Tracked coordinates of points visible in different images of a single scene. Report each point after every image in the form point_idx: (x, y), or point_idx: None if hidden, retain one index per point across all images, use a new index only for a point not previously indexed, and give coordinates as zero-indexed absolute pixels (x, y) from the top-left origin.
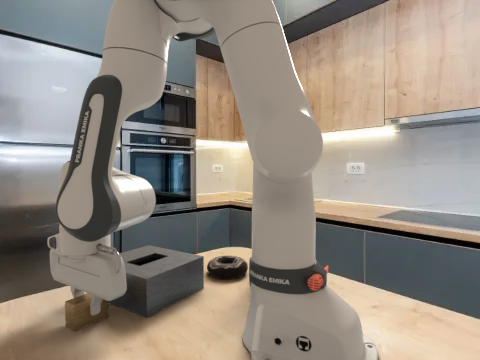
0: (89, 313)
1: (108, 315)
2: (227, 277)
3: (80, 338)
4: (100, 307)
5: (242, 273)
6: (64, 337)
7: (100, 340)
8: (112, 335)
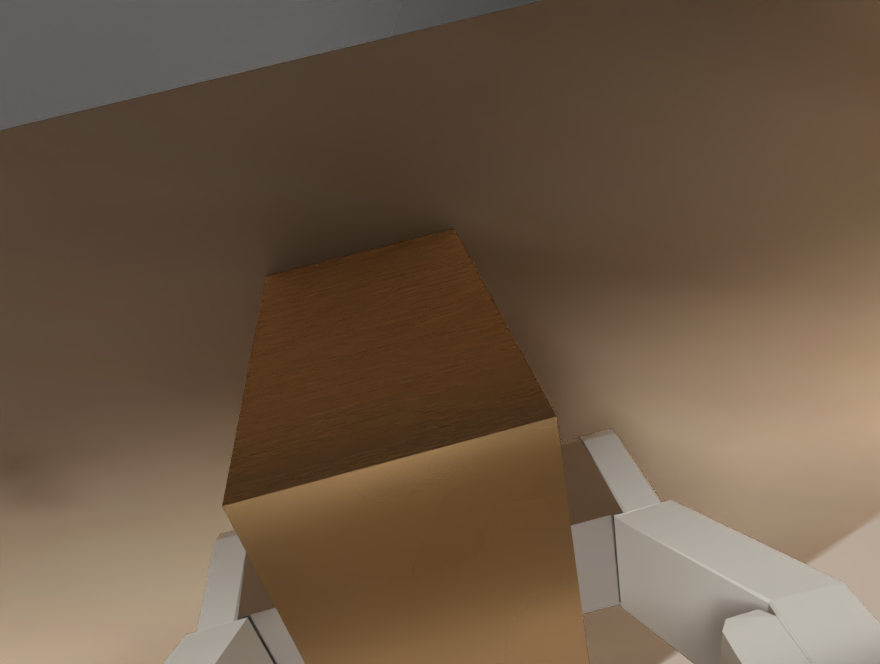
0: None
1: (452, 229)
2: None
3: None
4: (631, 459)
5: None
6: None
7: (814, 419)
8: (844, 330)
